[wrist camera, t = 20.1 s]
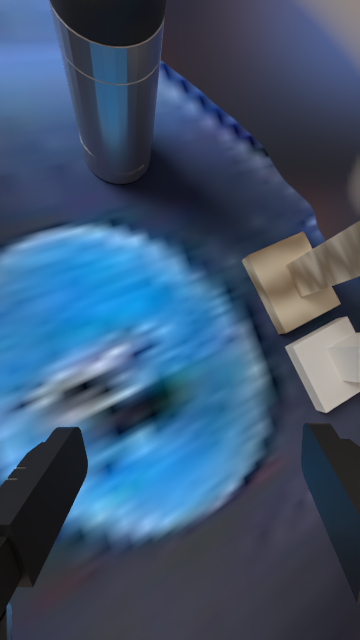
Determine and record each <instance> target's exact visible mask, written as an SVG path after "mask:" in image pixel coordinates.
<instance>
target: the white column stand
mask: <svg viewBox="0 0 360 640" xmlns="http://www.w3.org/2000/svg"><path fill="white" fill-rule="evenodd" d="M285 348H286V350H287V352H288V354H289V356H290V358H291V360H292V362H293V364H294V366H295V368H296V370H297V372H298V374H299V377H300V379H301V381H302V383H303V385H304V387H305V389H306V391H307V393H308V395H309V397H310V399H311V401H312V403H313V405H314V407H315V409H316V410H317V411H321V412H324V413H327V412H329V411H330V410H332V409H333V408H335V407H337V406H338V405H340V404H341V403H343V402H344V401H346V400H348V399H349V398H351V397H352V396H354V395H355V394H357V393H358V392H360V333H356V332H355V330H354V329H353V327H352V325H351V323H350V321H349V319H348V317H341V318H337V319H335V320H333V321H331V322H329V323H328V324H326V325H324V326H322V327H320V328H318V329H317V330H315V331H313V332H311V333H309V334H307V335H306V336H304V337H302V338H300V339H298V340H296V341H295V342H293V343H291V344H289V345H287V346H285Z"/></svg>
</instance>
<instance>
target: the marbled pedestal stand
mask: <svg viewBox="0 0 360 640" xmlns="http://www.w3.org/2000/svg"><path fill="white" fill-rule="evenodd" d="M242 262H243V264H244V266H245V268H246V270H247V272H248V274H249V276H250V278H251V280H252V282H253V284H254V286H255V288H256V290H257V292H258V294H259V296H260V298H261V300H262V302H263V304H264V306H265V308H266V310H267V312H268V314H269V316H270V318H271V320H272V322H273V324H274V326H275V328H276V330H277V332H278V334H284V333H287V332H289V331H291V330H293V329H295V328H297V327H299V326H301V325H302V324H304V323H306V322H308V321H310V320H312V319H314V318H316V317H317V316H319V315H321V314H323V313H325V312H327V311H329V310H331V309H333V308H334V307H336V306H338V305H340V304H341V303H340V301H339V299H338V297H337V295H336V294H335V292H334V290H333V288H332V286H334V285H336V284H339V283H342V282H345V281H348V280H350V279H353V278H356V277H359V276H360V221H359V222H357V223H355V224H354V225H352V226H350V227H349V228H347V229H345V230H344V231H342V232H340V233H339V234H337V235H335V236H334V237H332V238H331V239H329V240H327V241H325V242H324V243H322V244H320V245H319V246H317V247H315V248H314V249H312V247H311V245H310V243H309V241H308V239H307V237H306V235H305V233H304V231H303V232H300V233H298V234H296V235H294V236H291V237H289V238H287V239H284V240H282V241H280V242H277V243H275V244H273V245H271V246H268V247H266V248H264V249H261V250H259V251H257V252H254V253H252V254H250V255H248V256H246V257H245V258H244V259H243V260H242Z"/></svg>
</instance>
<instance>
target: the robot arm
mask: <svg viewBox="0 0 360 640" xmlns="http://www.w3.org/2000/svg"><path fill="white" fill-rule="evenodd" d="M49 4H50V8H51V12H52V17H53V21H54V26H55V30H56V34H57V39H58V42H59V47H60V51H61V56H62V60H63V65H64V69H65V73H66V78H67V82H68V87H69V91H70V95H71V100H72V104H73V109H74V113H75V118H76V122H77V126H78V131H79V136H80V140H81V144H82V149H83V153H84V157H85V161H86V163H87V165H88V167H89V168H90V169H91V171H92V172H93V173H94V174H95V175H97V176H98V177H99V178H101V179H103V180H105V181H107V182H110V183H115V184H126V183H131V182H133V181H136V180H138V179H139V178H140V177H142V176H143V175H144V173H145V172H146V171H147V169H148V167H149V163H150V156H151V146H152V138H153V128H154V118H155V108H156V98H157V87H158V77H159V67H160V57H161V46H162V35H163V25H164V16H165V7H166V0H49ZM301 463H302V470H303V474H304V477H305V480H306V483H307V485H308V487H309V490H310V492H311V495H312V497H313V499H314V502H315V504H316V507H317V509H318V511H319V514H320V516H321V518H322V521H323V523H324V526H325V528H326V530H327V533H328V535H329V537H330V540H331V542H332V545H333V547H334V549H335V552H336V554H337V556H338V559H339V561H340V564H341V566H342V568H343V571H344V573H345V575H346V578H347V580H348V583H349V585H350V587H351V590H352V592H353V594H354V597H355V599H356V602H357V603H360V447H359V446H358V445H357V444H355V443H354V442H353V441H351V440H350V439H340V437H339V436H338V434H337V433H336V432H335V430H334V429H333V427H332V426H331V425H330V424H329V423H305V424H304V426H303V439H302V456H301ZM87 469H88V460H87V455H86V451H85V446H84V442H83V438H82V433H81V430H80V428H79V427H58V428H56V429H55V430H54V431H53V432H52V434H51V435H50V436H49V438H48V439H47V440H46V442H41V443H40V444H39V445H37V446H36V447H35V448H33V449H32V450H31V451H30V452H28V453H27V454H26V455H25V457H24V458H23V459H22V460H21V462H20V463H19V464H18V465H17V468H16V469H14V470H13V472H12V473H11V474H10V475H9V477H8V480H5V482H4V483H3V484H2V485H1V487H0V640H12V613H11V603H10V599H11V597H12V595H13V593H14V591H15V589H16V588H17V587H33V586H34V584H35V582H36V580H37V578H38V575H39V573H40V571H41V569H42V567H43V565H44V563H45V561H46V559H47V557H48V555H49V553H50V551H51V548H52V546H53V544H54V542H55V540H56V538H57V536H58V534H59V532H60V530H61V528H62V526H63V523H64V521H65V519H66V517H67V515H68V513H69V511H70V509H71V507H72V505H73V503H74V501H75V498H76V496H77V494H78V492H79V490H80V488H81V486H82V484H83V482H84V480H85V477H86V474H87Z"/></svg>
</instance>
